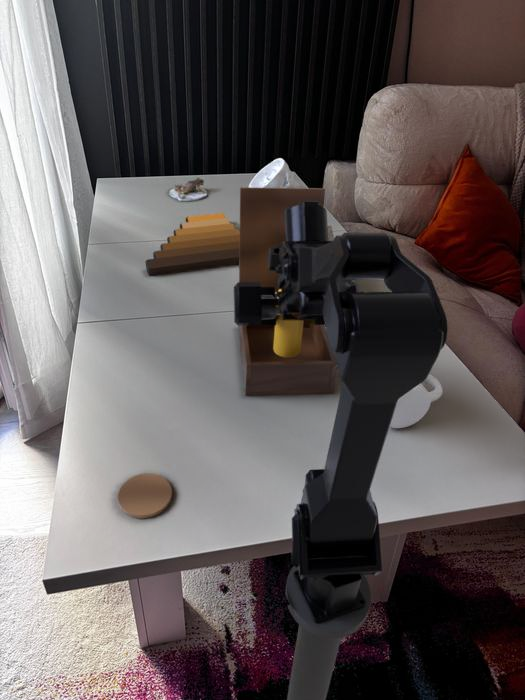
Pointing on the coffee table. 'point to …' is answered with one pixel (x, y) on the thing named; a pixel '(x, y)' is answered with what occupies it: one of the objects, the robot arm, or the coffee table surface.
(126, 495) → the coaster
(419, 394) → the mug
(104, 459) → the coffee table surface
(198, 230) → the pan flute
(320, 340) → the chest
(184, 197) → the frog figurine
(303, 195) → the chest lid
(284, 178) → the skull bowl
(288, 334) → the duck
